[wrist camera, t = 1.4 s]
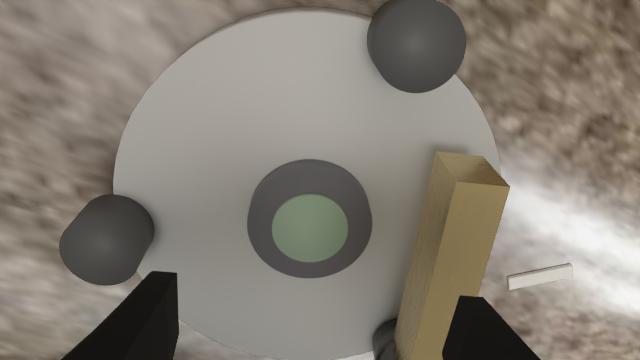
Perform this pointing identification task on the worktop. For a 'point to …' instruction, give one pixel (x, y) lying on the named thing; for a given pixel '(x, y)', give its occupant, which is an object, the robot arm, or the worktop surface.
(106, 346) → the robot arm
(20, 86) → the worktop surface
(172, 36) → the worktop surface
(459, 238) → the lever
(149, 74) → the worktop surface
